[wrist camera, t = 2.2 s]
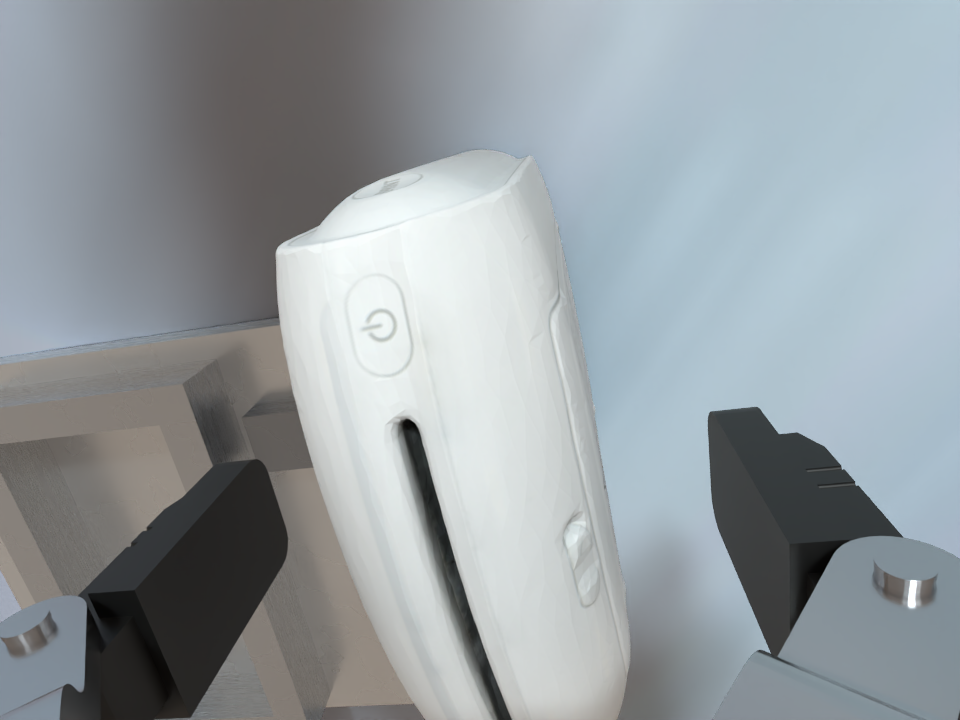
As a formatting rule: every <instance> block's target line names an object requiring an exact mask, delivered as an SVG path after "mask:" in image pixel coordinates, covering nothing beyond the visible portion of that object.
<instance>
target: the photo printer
mask: <svg viewBox="0 0 960 720" xmlns="http://www.w3.org/2000/svg"><path fill="white" fill-rule="evenodd" d="M276 279H277V299H278V309H279V318H280V328H281V333H282V338H283V347H284V351H285V356H286V360H287V365H288V370H289V374H290V380H291V385H292V390H293V395H294V398H295V402H296V405H297V409H298V413H299V417H300V422H301V425H302V429H303V432H304V436H305V440H306V443H307V447H308V450H309V454H310V457H311V461H312V464H313V467H314V471H315V474H316V477H317V480H318V484H319V487H320V490H321V493H322V496H323V499H324V502H325V505H326V508H327V511H328V514H329V517H330V519H331V522H332V525H333V528H334V531H335V534H336V536H337V539H338V542H339V545H340V548H341V550H342V553H343V556H344V558H345V561H346V563H347V566H348V569H349V572H350V574H351V577H352V579H353V582H354V584H355V586H356V589H357V591H358V594H359V596H360V599H361V602H362V604H363V606H364V609H365V611H366V613H367V615H368V617H369V619H370V621H371V623H372V626H373V628H374V630H375V632H376V635H377V637H378V639H379V641H380V643H381V645H382V647H383V649H384V651H385V653H386V655H387V657H388V659H389V661H390V663H391V665H392V667H393V669H394V670H395V672H396V674H397V676H398V678H399V680H400V681H401V683H402V684H403V686H404V688H405V690H406V691H407V693H408V695H409V696H410V698H411V700H412V701H413V702H414V704H415V706H416V707H417V708H418V710H419V711H420V713H421V714H422V716H423V717H424V719H425V720H617V718H618V716H619V713H620V710H621V706H622V703H623V699H624V695H625V688H626V683H627V674H628V670H629V665H630V650H631V649H630V632H629V622H628V616H627V609H626V599H625V598H626V586H625V582H624V579H623V577H622V574H621V568H620V562H619V556H618V550H617V545H616V539H615V533H614V528H613V522H612V516H611V511H610V505H609V499H608V494H607V488H606V482H605V476H604V471H603V465H602V459H601V454H600V448H599V441H598V435H597V428H596V422H595V406H594V403H593V401H592V394H591V387H590V381H589V376H588V370H587V364H586V359H585V353H584V348H583V343H582V338H581V333H580V328H579V323H578V318H577V313H576V308H575V303H574V298H573V293H572V288H571V284H570V279H569V275H568V270H567V265H566V261H565V256H564V252H563V248H562V244H561V240H560V236H559V232H558V223H557V222H556V220H555V216H554V211H553V207H552V203H551V200H550V197H549V194H548V191H547V188H546V185H545V182H544V180H543V178H542V175H541V173H540V171H539V168H538V166H537V164H536V162H535V160H534V158H533V157H532V156H531V155H530V156H527V157H524V158H520V159H516V158H515V157H513V156H511V155H509V154H506V153H503V152H500V151H495V150H487V149H483V150H472V151H467V152H463V153H460V154H456V155H453V156H450V157H446V158H443V159H440V160H437V161H434V162H430V163H427V164H424V165H421V166H418V167H415V168H412V169H409V170H406V171H403V172H400V173H397V174H395V175H392V176H389V177H386V178H383V179H380V180H378V181H376V182H374V183H372V184H370V185H367V186H365V187H363V188H361V189H359V190H358V191H356V192H355V193H353V194H351V195H350V196H348V197H347V198H346V199H345V200H343V201H342V202H341V203H340V204H339V205H338V206H337V207H335V209H334V210H333V211H332V212H331V213H330V214H329V215H328V216H327V217H326V218H325V219H324V220H323V222H322V223H321V224H320V226H317V227H315V228H313V229H311V230H309V231H307V232H305V233H302V234H300V235H298V236H296V237H294V238H292V239H289V240H287V241H285V242H283V243H282V244H281V245H280V246H279V247H278V248H277V251H276Z"/></svg>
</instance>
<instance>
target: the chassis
mask: <svg viewBox="0 0 960 720" xmlns="http://www.w3.org/2000/svg"><path fill="white" fill-rule="evenodd" d="M252 459H258V460H260V461H261V462H262V463H263V464H264V465H265V467H266V468H267V471H268V474H269V477H270V480H271V483H272V486H273V489H274V492H275V495H276V498H277V501H278V504H279V508H280V511H281V514H282V517H283V520H284V523H285V526H286V530H287V535H288V550H287V556H286V559H285V562H284V564H283V566H282V568H281V569H280V571H279V573H278V574H277V576H276V577H275V579H274V581H273V582H272V584H271V586H270V587H269V589H268V591H267V592H266V594H265V596H264V597H263V599H262V601H261V602H260V604H259V606H258V607H257V609H256V611H255V612H254V614H253V616H252V617H251V619H250V620H249V622H248V624H247V625H246V627H245V629H244V630H243V632H242V634H241V635H240V637H239V639H238V640H237V642H236V644H235V645H234V647H233V649H232V650H231V652H230V654H229V655H228V657H227V659H226V660H225V662H224V663H223V665H222V667H221V668H220V670H219V672H218V673H217V675H216V677H215V678H214V680H213V682H212V683H211V685H210V687H209V688H208V690H207V692H206V693H205V695H204V697H203V698H202V700H201V701H200V703H199V705H198V706H197V708H196V710H195V711H194V713H193V715H192V716H191V718H176V719H154V720H321V718H322V715H323V713H324V710H325V707H348V706H373V705H397V704H414V702H413V701H412V700H411V698H410V696H409V695H408V693H407V691H406V690H405V688H404V686H403V684H402V683H401V681H400V680H399V678H398V676H397V674H396V672H395V670H394V669H393V667H392V665H391V663H390V661H389V659H388V657H387V655H386V653H385V651H384V649H383V647H382V645H381V643H380V641H379V639H378V637H377V635H376V632H375V630H374V628H373V626H372V623H371V621H370V619H369V617H368V615H367V613H366V611H365V609H364V606H363V604H362V602H361V599H360V596H359V594H358V591H357V589H356V586H355V584H354V582H353V579H352V577H351V574H350V572H349V569H348V566H347V563H346V561H345V558H344V556H343V553H342V550H341V548H340V545H339V542H338V539H337V536H336V534H335V531H334V528H333V525H332V522H331V519H330V517H329V514H328V511H327V508H326V505H325V502H324V499H323V496H322V493H321V490H320V487H319V484H318V480H317V477H316V474H315V471H314V467H313V464H312V461H311V457H310V454H309V450H308V447H307V443H306V440H305V436H304V432H303V429H302V425H301V422H300V417H299V413H298V409H297V405H296V402H295V398H294V395H293V390H292V385H291V380H290V374H289V370H288V365H287V360H286V356H285V351H284V347H283V338H282V333H281V328H280V318H279V317H278V318H271V319H264V320H257V321H250V322H243V323H236V324H230V325H223V326H216V327H209V328H202V329H195V330H188V331H181V332H174V333H167V334H160V335H153V336H146V337H139V338H133V339H126V340H119V341H112V342H105V343H98V344H91V345H84V346H77V347H70V348H63V349H56V350H49V351H42V352H36V353H29V354H22V355H15V356H8V357H1V358H0V570H1V572H2V574H3V576H4V578H5V579H6V581H7V583H8V585H9V587H10V589H11V590H12V592H13V594H14V596H15V598H16V600H17V601H18V603H19V605H20V607H21V609H22V610H23V609H25V608H27V607H29V606H31V605H33V604H36V603H39V602H41V601H44V600H47V599H51V598H55V597H59V596H68V595H71V596H78V595H79V594H80V593H81V592H82V591H83V590H84V589H85V588H86V587H87V586H88V585H89V584H90V583H91V582H92V581H93V580H94V579H95V578H96V577H97V576H98V575H99V574H100V573H101V572H102V571H103V570H104V569H105V568H106V567H107V566H108V565H109V564H110V563H111V562H112V561H113V560H114V559H115V558H116V557H117V556H118V555H119V554H120V553H121V552H122V551H123V550H124V549H125V548H126V547H131V542H132V541H133V540H134V539H135V538H136V537H137V536H138V535H139V534H140V533H141V532H142V531H146V530H147V528H146V527H147V526H148V525H149V524H150V523H151V522H152V521H153V520H154V519H155V518H156V517H157V516H158V515H159V514H160V513H161V512H162V511H163V510H164V509H165V508H167V507H168V506H170V505H172V504H173V503H175V502H176V501H178V500H179V499H181V498H182V497H183V496H184V495H185V494H186V493H187V492H188V491H189V490H190V489H191V488H192V487H193V486H194V485H195V484H196V483H197V482H198V481H199V480H200V479H201V478H202V477H203V476H204V475H205V474H206V473H207V472H208V471H209V470H210V469H211V468H212V467H213V466H214V465H215V464H217V463H223V462H233V461H242V460H252Z"/></svg>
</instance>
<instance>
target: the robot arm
mask: <svg viewBox="0 0 960 720" xmlns="http://www.w3.org/2000/svg"><path fill="white" fill-rule="evenodd" d="M708 437H709V457H710V476H711V494H712V503H713V509H714V514H715V519H716V523H717V526H718V529H719V532H720V534H721V537H722V539H723V542H724V544H725V546H726V549H727V551H728V553H729V556H730V558H731V560H732V563H733V565H734V567H735V570H736V572H737V574H738V577H739V579H740V582H741V584H742V586H743V589H744V591H745V593H746V596H747V598H748V600H749V603H750V605H751V607H752V610H753V612H754V614H755V617H756V619H757V622H758V624H759V626H760V629H761V631H762V633H763V636H764V638H765V640H766V643H767V645H768V647H769V650H770V652H771V654H770V653H768V652H765V651H763V650H758V651H756V652H755V653H753V654H752V655H751V656H750V658H749V659H748V660H747V662H746V663H745V665H744V666H743V668H742V670H741V671H740V673H739V675H738V676H737V678H736V680H735V682H734V683H733V685H732V687H731V688H730V690H729V692H728V693H727V695H726V697H725V698H724V700H723V702H722V704H721V705H720V707H719V709H718V710H717V712H716V714H715V715H714V717H713V719H712V720H960V559H959V558H958V557H956V556H954V555H953V554H951V553H949V552H947V551H945V550H943V549H940V548H938V547H935V546H933V545H930V544H927V543H924V542H920V541H917V540H912V539H908V538H903V536H902V535H901V534H900V533H899V532H898V531H897V529H896V528H895V527H894V526H893V525H892V524H891V523H890V521H889V520H888V519H887V518H886V517H885V516H884V514H883V513H882V512H881V511H880V510H879V509H878V508H877V506H876V505H875V504H874V503H873V502H872V501H871V500H870V498H869V497H868V496H867V495H866V494H865V493H864V491H863V490H862V489H861V488H860V487H859V486H856V485H855V481H854V480H853V479H852V478H851V476H850V475H849V474H848V473H847V472H846V471H845V470H842V468H841V465H840V464H839V463H838V462H837V460H836V459H835V458H834V457H833V456H832V455H831V453H830V452H829V451H828V450H827V449H826V448H825V447H824V446H822V445H820V444H818V443H816V442H814V441H812V440H810V439H809V438H807V437H805V436H803V435H801V434H799V433H789V434H778V433H777V431H776V430H775V429H774V427H773V426H772V425H771V423H770V422H769V421H768V419H767V418H766V417H765V415H764V414H763V413H762V411H761V410H760V409H759V408H758V407H750V408H741V409H731V410H722V411H712V412H710V413H709V416H708ZM146 528H147V530H146V531H142V532H141V533H140V534H139V535H138V536H137V537H136V538H135V539H134V540H133V541H132V542H131V547H126V548H125V549H124V550H123V551H122V552H121V553H120V554H119V555H118V556H117V557H116V558H115V559H114V560H113V561H112V562H111V563H110V564H109V565H108V566H107V567H106V568H105V569H104V570H103V571H102V572H101V573H100V574H99V575H98V576H97V577H96V578H95V579H94V580H93V581H92V582H91V583H90V584H89V585H88V586H87V587H86V588H85V589H84V590H83V591H82V592H81V593H80V594H79V595H78V596H71V595H68V596H59V597H55V598H51V599H47V600H44V601H41V602H39V603H36V604H33V605H31V606H29V607H27V608H25V609H23V610H21V611H19V612H17V613H15V614H13V615H12V616H10V617H8V618H7V619H5V620H4V621H2V622H1V623H0V720H154V719H176V718H191V716H192V715H193V713H194V711H195V710H196V708H197V706H198V705H199V703H200V701H201V700H202V698H203V697H204V695H205V693H206V692H207V690H208V688H209V687H210V685H211V683H212V682H213V680H214V678H215V677H216V675H217V673H218V672H219V670H220V668H221V667H222V665H223V663H224V662H225V660H226V659H227V657H228V655H229V654H230V652H231V650H232V649H233V647H234V645H235V644H236V642H237V640H238V639H239V637H240V635H241V634H242V632H243V630H244V629H245V627H246V625H247V624H248V622H249V620H250V619H251V617H252V616H253V614H254V612H255V611H256V609H257V607H258V606H259V604H260V602H261V601H262V599H263V597H264V596H265V594H266V592H267V591H268V589H269V587H270V586H271V584H272V582H273V581H274V579H275V577H276V576H277V574H278V573H279V571H280V569H281V568H282V566H283V564H284V562H285V559H286V556H287V550H288V535H287V530H286V526H285V523H284V520H283V517H282V514H281V511H280V508H279V504H278V501H277V498H276V495H275V492H274V489H273V486H272V483H271V480H270V477H269V474H268V471H267V468H266V467H265V465H264V464H263V463H262V462H261V461H260V460H258V459H252V460H242V461H233V462H223V463H217V464H215V465H214V466H213V467H212V468H211V469H210V470H209V471H208V472H207V473H206V474H205V475H204V476H203V477H202V478H201V479H200V480H199V481H198V482H197V483H196V484H195V485H194V486H193V487H192V488H191V489H190V490H189V491H188V492H187V493H186V494H185V495H184V496H183V497H182V498H181V499H179V500H178V501H176V502H175V503H173V504H172V505H170V506H168V507H167V508H165V509H164V510H163V511H162V512H161V513H160V514H159V515H158V516H157V517H156V518H155V519H154V520H153V521H152V522H151V523H150V524H149V525H148V526H147V527H146Z"/></svg>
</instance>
